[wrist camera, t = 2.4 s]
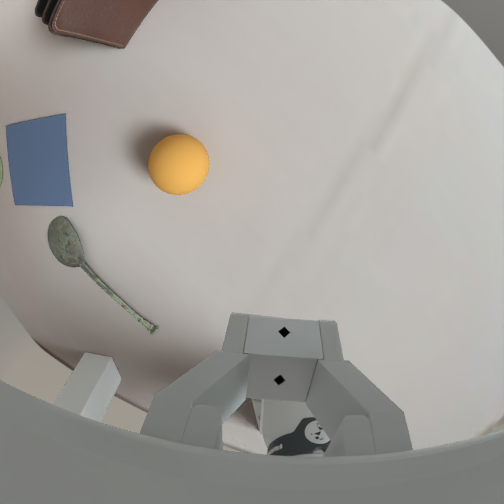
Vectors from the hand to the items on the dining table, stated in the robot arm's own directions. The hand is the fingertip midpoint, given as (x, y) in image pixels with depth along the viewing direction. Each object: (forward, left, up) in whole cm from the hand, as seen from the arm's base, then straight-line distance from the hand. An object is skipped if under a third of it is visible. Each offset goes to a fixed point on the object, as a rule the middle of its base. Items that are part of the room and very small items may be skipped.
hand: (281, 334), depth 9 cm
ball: (0, +10, -22) cm, 24 cm away
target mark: (0, +32, -25) cm, 41 cm away
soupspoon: (-16, +23, -26) cm, 39 cm away
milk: (-36, +28, -25) cm, 52 cm away
